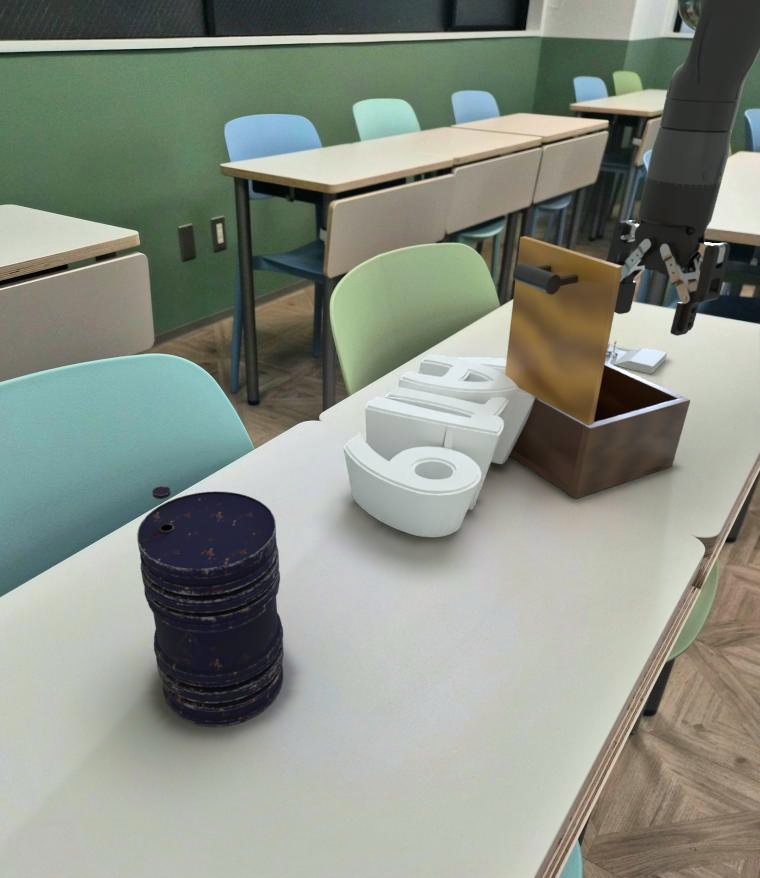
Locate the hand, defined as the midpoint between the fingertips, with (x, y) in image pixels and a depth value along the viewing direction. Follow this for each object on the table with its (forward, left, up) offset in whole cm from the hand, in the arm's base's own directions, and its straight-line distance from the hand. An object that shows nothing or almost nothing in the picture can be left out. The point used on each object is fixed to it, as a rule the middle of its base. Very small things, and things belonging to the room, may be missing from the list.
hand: (648, 322), depth 86 cm
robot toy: (-23, -22, -17) cm, 36 cm away
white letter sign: (+25, -4, -16) cm, 30 cm away
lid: (+14, 0, +2) cm, 14 cm away
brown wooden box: (+7, 0, -16) cm, 18 cm away
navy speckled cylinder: (+60, +14, -17) cm, 63 cm away
